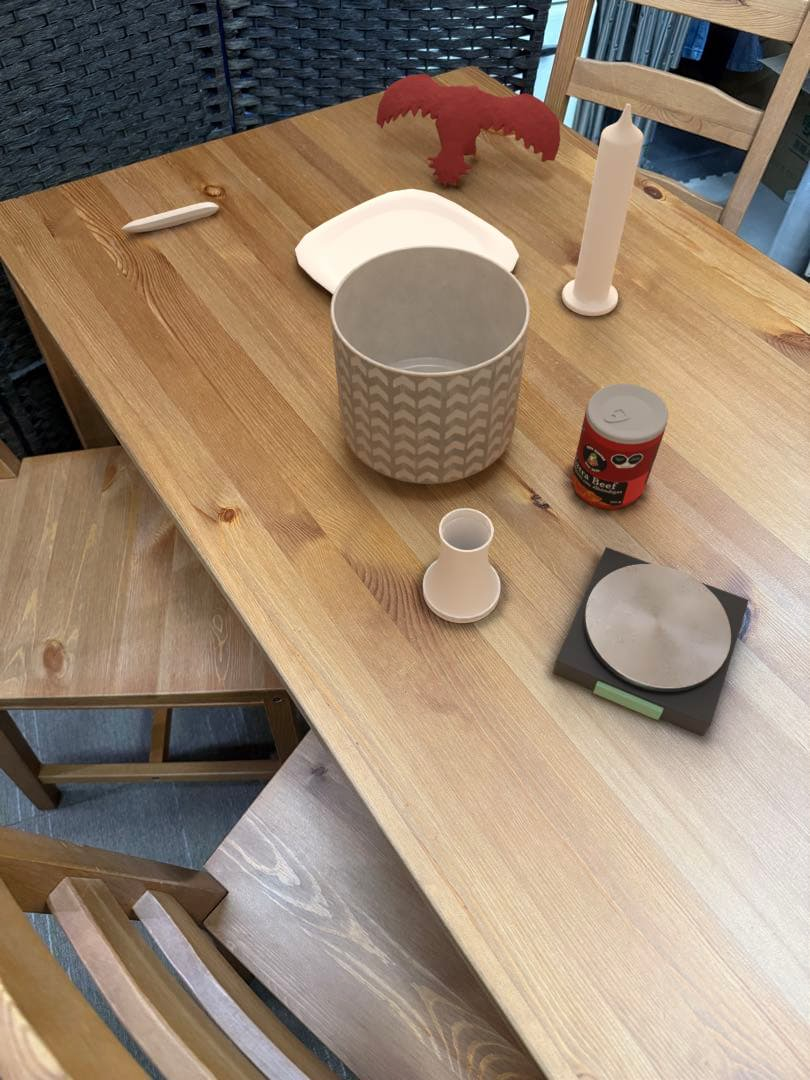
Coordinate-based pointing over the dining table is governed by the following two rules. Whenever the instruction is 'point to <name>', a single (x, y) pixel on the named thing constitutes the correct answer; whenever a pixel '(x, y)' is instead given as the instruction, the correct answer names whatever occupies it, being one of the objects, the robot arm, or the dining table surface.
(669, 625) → the scale
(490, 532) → the vase
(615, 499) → the canned food
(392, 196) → the plate
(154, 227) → the pen
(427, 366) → the planter
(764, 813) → the dining table surface
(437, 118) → the decorative bird sculpture
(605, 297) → the candle
